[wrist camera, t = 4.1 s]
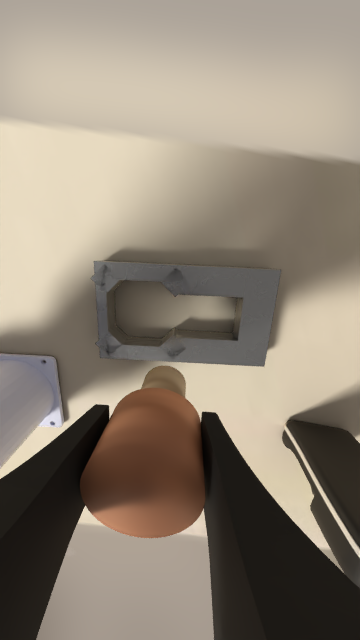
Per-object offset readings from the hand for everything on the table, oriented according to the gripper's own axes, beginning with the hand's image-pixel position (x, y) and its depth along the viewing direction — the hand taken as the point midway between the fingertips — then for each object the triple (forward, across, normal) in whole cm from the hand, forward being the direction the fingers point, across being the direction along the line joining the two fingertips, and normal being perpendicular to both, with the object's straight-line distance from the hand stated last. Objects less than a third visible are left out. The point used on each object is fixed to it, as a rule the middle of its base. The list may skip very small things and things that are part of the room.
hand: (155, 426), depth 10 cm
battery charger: (+10, -15, +10) cm, 21 cm away
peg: (+4, 0, 0) cm, 4 cm away
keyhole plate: (+10, -1, -3) cm, 11 cm away
